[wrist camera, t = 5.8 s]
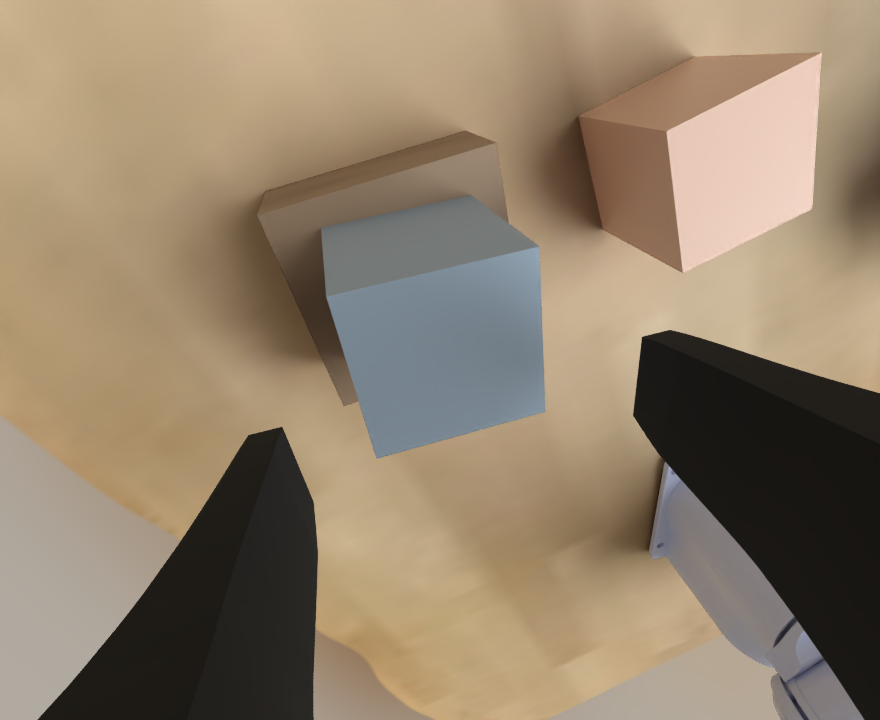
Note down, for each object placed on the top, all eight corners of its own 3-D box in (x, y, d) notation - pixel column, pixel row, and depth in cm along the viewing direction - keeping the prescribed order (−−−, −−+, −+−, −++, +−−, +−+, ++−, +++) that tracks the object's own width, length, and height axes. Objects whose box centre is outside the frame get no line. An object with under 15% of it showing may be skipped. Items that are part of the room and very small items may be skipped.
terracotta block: (702, 178, 19) (812, 208, 15) (602, 229, 19) (682, 273, 15) (693, 56, 17) (821, 52, 12) (577, 115, 17) (666, 131, 13)
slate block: (485, 326, 16) (545, 411, 12) (359, 358, 16) (376, 458, 12) (471, 194, 14) (539, 246, 10) (321, 227, 14) (326, 296, 9)
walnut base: (495, 305, 20) (527, 344, 17) (338, 356, 20) (343, 406, 17) (463, 129, 16) (496, 142, 13) (266, 189, 16) (256, 215, 13)
